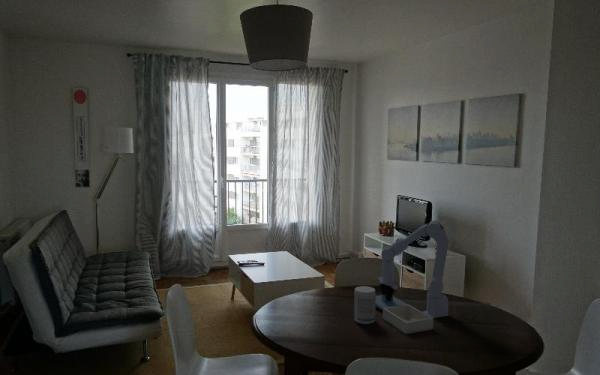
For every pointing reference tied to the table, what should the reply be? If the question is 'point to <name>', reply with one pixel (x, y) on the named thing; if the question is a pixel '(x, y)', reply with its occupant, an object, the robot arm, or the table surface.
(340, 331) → the table surface
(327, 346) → the table surface
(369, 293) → the supplement tub
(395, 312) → the parts tub
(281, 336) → the table surface
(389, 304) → the snap lid
